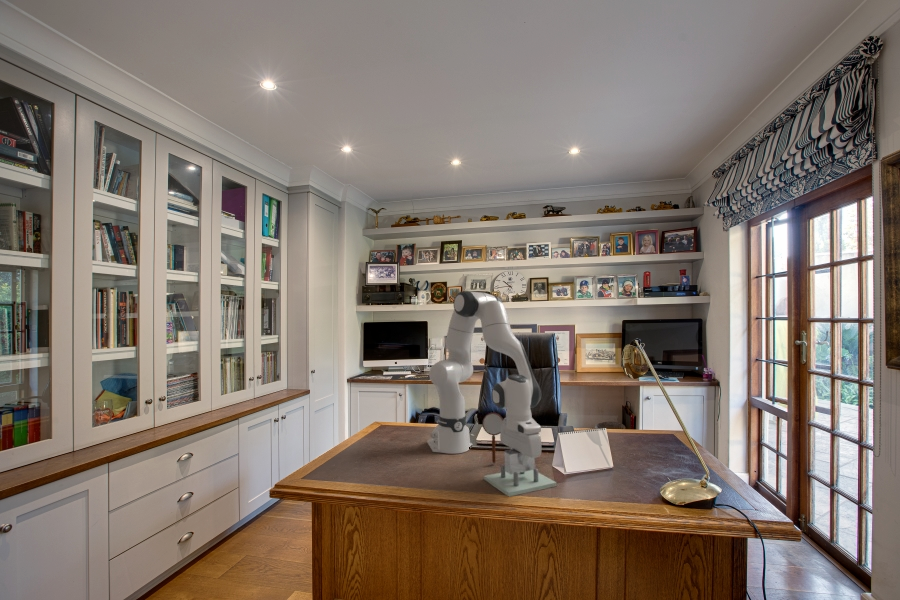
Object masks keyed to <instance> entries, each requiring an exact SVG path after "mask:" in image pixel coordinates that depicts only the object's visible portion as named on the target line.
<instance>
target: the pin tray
mask: <svg viewBox="0 0 900 600" xmlns="http://www.w3.org/2000/svg"><path fill="white" fill-rule="evenodd" d="M483 480H484V481H486V482H487V483H489V484H490V485H491V486H493V487H494V488H496V490H498V491H500V492H501V493H503V494H504V495H505V496H507V497H508V496H509V497H513V496H518V495H523V494H528V493H531V492H535V491H540V490H544V489H550V488H553V487H557V481H555V480H553V479H552V478H549V477H547V476H546V475H543V474H542V473H540V472H539V469H538V468H537V467H535V469H533V470H530V471H525V472H520V473H517V472H514V474H509V473H507V472H506V471H505V464H501V465H500V472H497V473H491V474H486V475H483Z"/></svg>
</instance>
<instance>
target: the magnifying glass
mask: <svg viewBox="0 0 900 600" xmlns="http://www.w3.org/2000/svg"><path fill="white" fill-rule="evenodd" d="M503 419H504V418H503V417H502V416H501V415H500V414H499V413H497V412H489V413H487V414H486V415H484V416H483V419H482V424H481V425H482V428H483V431H485V433H487V434H488V435H489V436H491V448H492V449H491V452H492V453H491V454H492V455H491V456H492V457H491V460H492V465H493V466H495V465H496V462H497V461H496V436H498V435H500V432H501V425H502V421H503Z"/></svg>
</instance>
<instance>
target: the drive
mask: <svg viewBox="0 0 900 600" xmlns="http://www.w3.org/2000/svg"><path fill="white" fill-rule="evenodd" d="M522 458H523V456H522V453H521V452H519V451H517V450H515V449H511V450H510V449H507V450H506V449H505V450H504V465H505V472H507V473H509V474H514V472H517V473H520V472H525V471H530V470H533V469H535V468H536V461H535V460H536V457H535V458H531V457H529V458H528V460H527V466H522V465H521V460H522Z"/></svg>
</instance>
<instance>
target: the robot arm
mask: <svg viewBox="0 0 900 600" xmlns="http://www.w3.org/2000/svg"><path fill="white" fill-rule="evenodd" d="M453 309H454V310H453V312H452V314H451V317H450V321H449V324H448V327H447V328H448V329H447V333H446V338H445V346H446V347H447V350H448V357H447V359H443V360H439V361H437V362H435V363H434V364H433V365H431V367H430V368H429V372H428V376H429V379H430V381H431V383H432V384H433V385H434V386H435V388H436V391H437V394H438V398H439V415H438V421H437V423H438V424H437V425H436V427H434V428H433V430H432V432H431V433H430V438H431V439H428V440H427V441H426V444H427V445H428V446H429V448H430V450H431V451H432V452H433V453H443V454H449V455H450V454H462V453H466V452H467V451H469V450H470V449H469V447H470V446H471V445H473V443H472V442H471V439H470V429H469V427H468V426H467V416H466V400H465V399H466V398H465V396H464V395H463V394H462V393H461V390H460V384H459V383H464V382H466V381H468V380H469V379H470V378H471V377H472V375H473V373H474V366H473V363H472V362H471V346H472V343H473V336H474V331H475V326H476V323H477V321H478V320H480V322H481V332H482V338H483V340H484V343H485V345H486V346H488V348H489V349H491V350H493V351H494V352H496V353H497V352H498V353H501V354H503V355H506V356H508V357H510V358H511V359H512V360H513V361H514V363H515V366H516V369H517V372H518V374H510V375H508V376H506V379H505V380H504V381H500V382H497V383H496V384H494V386H493V387H492V389H491V400H492V403H493V404H494V405H495V406H496V407H497V408H498V409H502V410H503V409H504V410H505V409H506V412H505V417H504V418H503V421H502V425H501V432H500V434H499V440H500V443H501V444H503V445H505V446H506V447H509V450H511V449H515V450H517V451H519V452H521V453H522V456H523V458H522V460H521V465H522V466H527V460H528V458H529V457H531V458H535V459H536V458H539V457H541V454H542V438H541V435H540V433H541V432H542V427H541V425H540V424H539V423H537V421H536V420H535V419H534V418H533V417H532V415H533V414H532V410H531V408H536V407H537V405H538V404H539V403H540V402H541V400H542V395H543V394H542V389H541V387H540V385H539V383H538V381H537V380H536V377H535V374H534V372H533V369H532V367H531V362H530V361H529V357H528V355H527V352H526V350H525V347H524V345H523V343H522V341H521V340H519V339H518V338H517V337H516V336H515V334H514V333H513V330H512V328H511V324H510V318H509V315H508V312H507V310H506V307H505V305H504V303H503V300H502V299H501V298H500V297H499V296H497V295H495V294H490V293H486V292H482V291H479V292H478V291H469V290H463V291H459V292H458V293H457V294H456V295H455V297H454V299H453ZM470 448H471V447H470Z"/></svg>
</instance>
